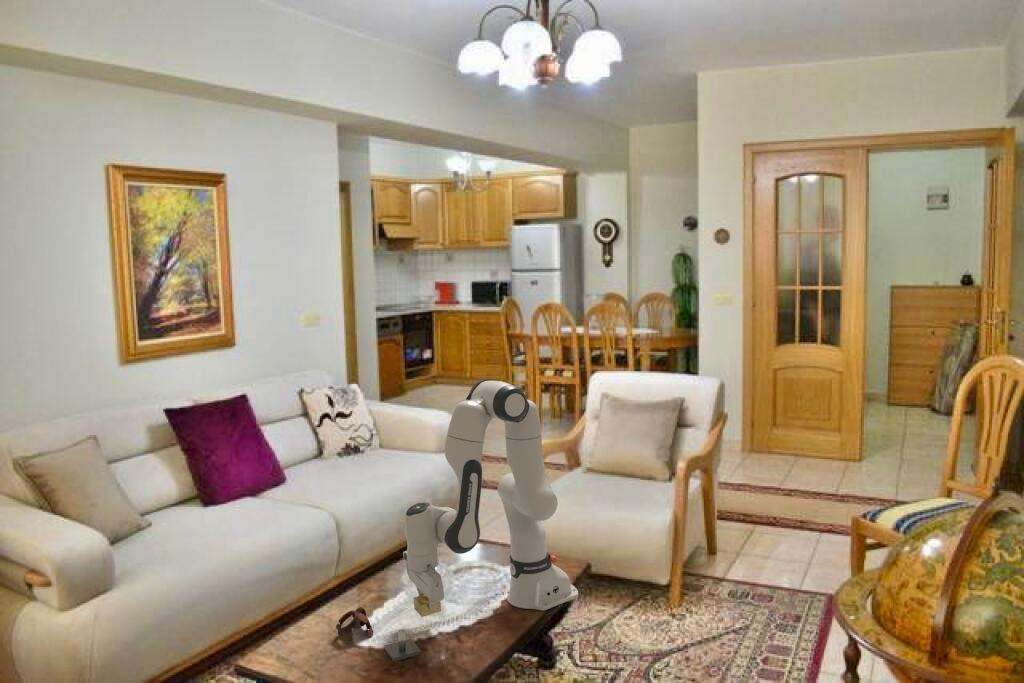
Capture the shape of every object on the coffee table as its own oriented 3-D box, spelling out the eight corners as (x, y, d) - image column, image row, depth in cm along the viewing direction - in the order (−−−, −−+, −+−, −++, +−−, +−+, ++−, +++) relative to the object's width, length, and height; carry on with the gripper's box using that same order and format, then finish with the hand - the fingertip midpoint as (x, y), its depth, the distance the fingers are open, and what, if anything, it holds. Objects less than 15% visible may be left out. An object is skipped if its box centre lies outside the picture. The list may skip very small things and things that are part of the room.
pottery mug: (372, 644, 234) (356, 624, 232) (345, 656, 236) (329, 636, 234) (380, 615, 245) (365, 595, 243) (354, 626, 247) (338, 607, 245)
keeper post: (410, 641, 234) (409, 621, 233) (421, 654, 227) (420, 633, 226) (383, 649, 230) (382, 628, 229) (393, 661, 223) (392, 641, 222)
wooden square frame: (433, 603, 244) (432, 592, 243) (441, 611, 238) (440, 599, 238) (414, 608, 241) (413, 597, 240) (421, 617, 236) (420, 605, 235)
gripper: (447, 569, 230) (451, 615, 232) (420, 545, 248) (424, 588, 250) (426, 575, 227) (430, 621, 229) (400, 550, 245) (405, 594, 247)
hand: (427, 604), depth 239 cm, fingers closed on wooden square frame, 6 cm apart
